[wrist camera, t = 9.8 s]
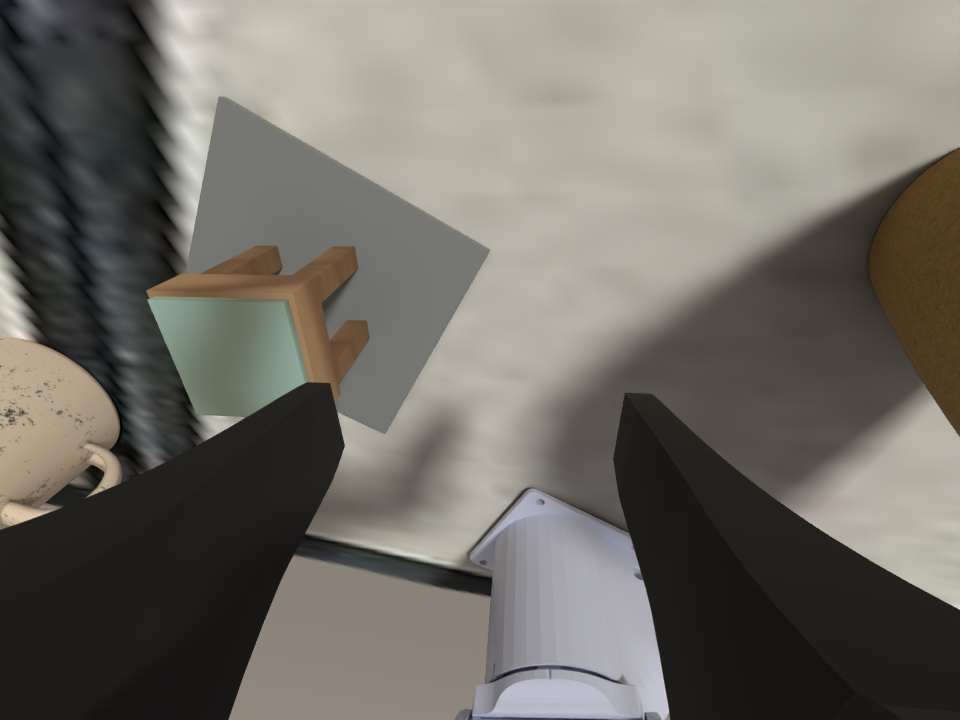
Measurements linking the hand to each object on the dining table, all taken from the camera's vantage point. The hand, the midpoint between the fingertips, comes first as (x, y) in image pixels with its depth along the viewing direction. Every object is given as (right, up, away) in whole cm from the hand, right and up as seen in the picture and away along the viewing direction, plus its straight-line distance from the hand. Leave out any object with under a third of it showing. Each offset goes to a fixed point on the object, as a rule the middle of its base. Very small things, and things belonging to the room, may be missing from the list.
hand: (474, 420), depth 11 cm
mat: (-8, +5, +10) cm, 14 cm away
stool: (-8, +5, +10) cm, 13 cm away
